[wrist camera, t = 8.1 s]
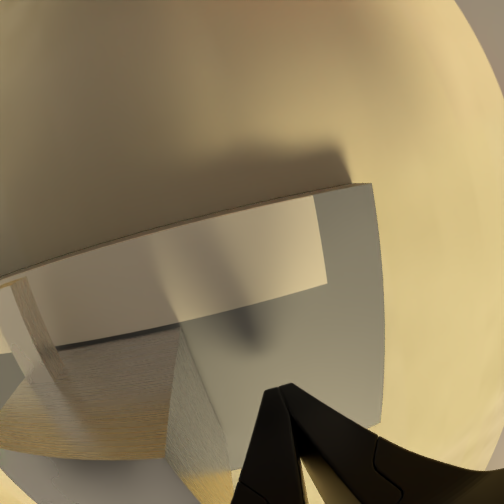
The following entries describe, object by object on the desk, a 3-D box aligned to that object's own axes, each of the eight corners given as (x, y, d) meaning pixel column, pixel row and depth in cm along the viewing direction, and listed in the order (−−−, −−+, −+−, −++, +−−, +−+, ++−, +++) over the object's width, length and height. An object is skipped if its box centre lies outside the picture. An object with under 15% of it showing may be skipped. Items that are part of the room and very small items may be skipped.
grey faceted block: (226, 438, 9) (242, 545, 4) (109, 451, 8) (89, 541, 4) (152, 234, 7) (79, 298, 3) (14, 276, 6) (-84, 337, 2)
